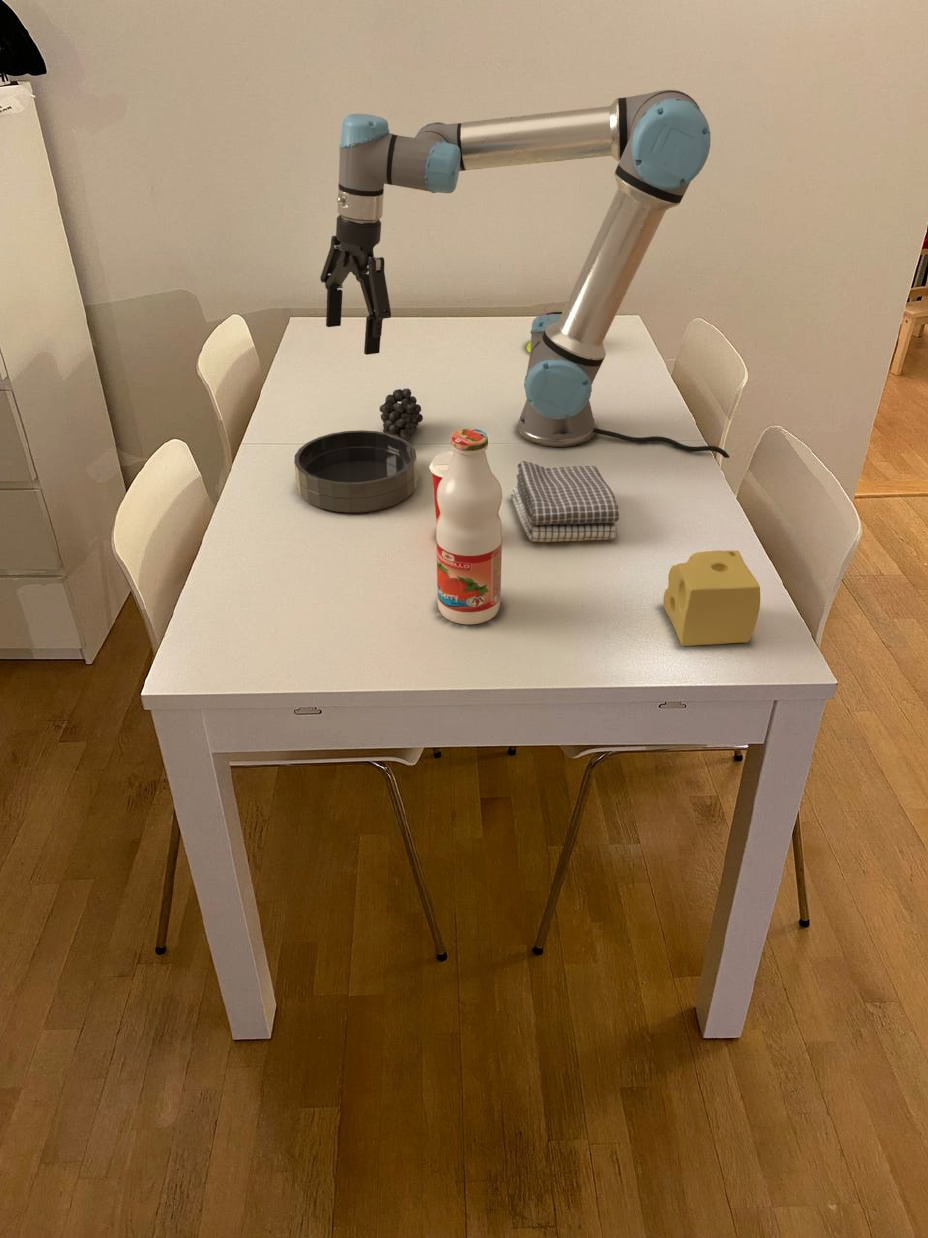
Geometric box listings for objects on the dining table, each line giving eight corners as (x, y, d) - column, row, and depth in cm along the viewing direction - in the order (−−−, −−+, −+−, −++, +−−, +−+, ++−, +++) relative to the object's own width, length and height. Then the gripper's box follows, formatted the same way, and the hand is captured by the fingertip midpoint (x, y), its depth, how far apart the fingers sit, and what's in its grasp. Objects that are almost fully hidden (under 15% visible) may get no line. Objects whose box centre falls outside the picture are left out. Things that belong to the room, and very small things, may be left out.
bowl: (441, 481, 182) (440, 451, 179) (360, 527, 168) (357, 496, 165) (355, 449, 193) (353, 420, 190) (272, 490, 179) (269, 460, 176)
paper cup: (483, 529, 168) (484, 453, 160) (468, 551, 162) (469, 474, 154) (440, 521, 170) (438, 446, 162) (424, 543, 164) (421, 466, 156)
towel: (529, 550, 162) (531, 507, 158) (509, 497, 177) (510, 457, 173) (619, 543, 164) (624, 501, 160) (592, 491, 179) (596, 451, 174)
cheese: (661, 607, 149) (669, 550, 143) (731, 604, 150) (742, 547, 144) (679, 649, 140) (688, 590, 135) (754, 645, 141) (766, 586, 135)
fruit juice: (513, 608, 149) (519, 436, 132) (467, 634, 143) (468, 457, 127) (470, 583, 154) (470, 415, 138) (424, 607, 149) (419, 434, 133)
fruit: (402, 410, 186) (415, 378, 198) (362, 421, 188) (377, 388, 200) (418, 450, 190) (430, 417, 202) (378, 460, 193) (393, 426, 205)
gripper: (303, 197, 173) (300, 316, 185) (379, 240, 158) (370, 368, 170) (341, 195, 177) (335, 312, 189) (418, 238, 162) (406, 362, 174)
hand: (352, 339), depth 180 cm, fingers open, 13 cm apart
